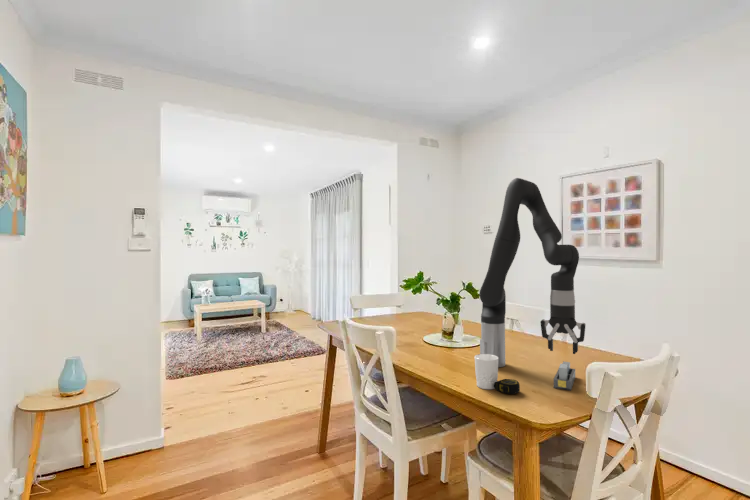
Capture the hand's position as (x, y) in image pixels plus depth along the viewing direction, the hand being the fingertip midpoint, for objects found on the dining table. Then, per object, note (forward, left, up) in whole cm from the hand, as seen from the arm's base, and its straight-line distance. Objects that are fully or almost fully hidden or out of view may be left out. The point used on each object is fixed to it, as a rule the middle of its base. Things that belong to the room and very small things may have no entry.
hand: (562, 351), depth 130 cm
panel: (0, 0, -11) cm, 11 cm away
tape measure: (-21, -4, -12) cm, 25 cm away
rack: (+2, +3, -12) cm, 12 cm away
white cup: (-26, +1, -12) cm, 28 cm away
